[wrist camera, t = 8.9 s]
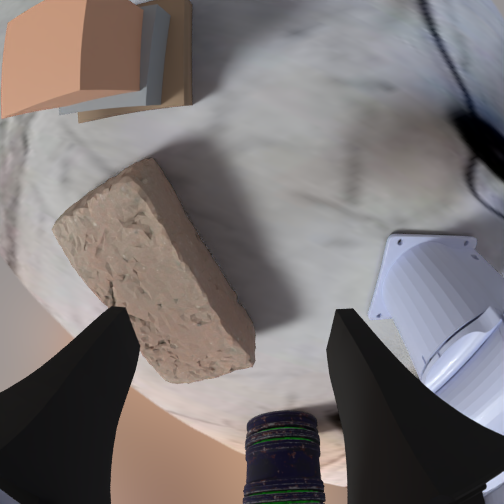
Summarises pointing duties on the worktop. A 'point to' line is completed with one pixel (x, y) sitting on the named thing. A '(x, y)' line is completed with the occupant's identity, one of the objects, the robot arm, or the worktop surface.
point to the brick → (157, 275)
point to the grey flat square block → (150, 67)
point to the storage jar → (283, 459)
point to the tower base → (165, 64)
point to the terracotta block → (70, 54)
